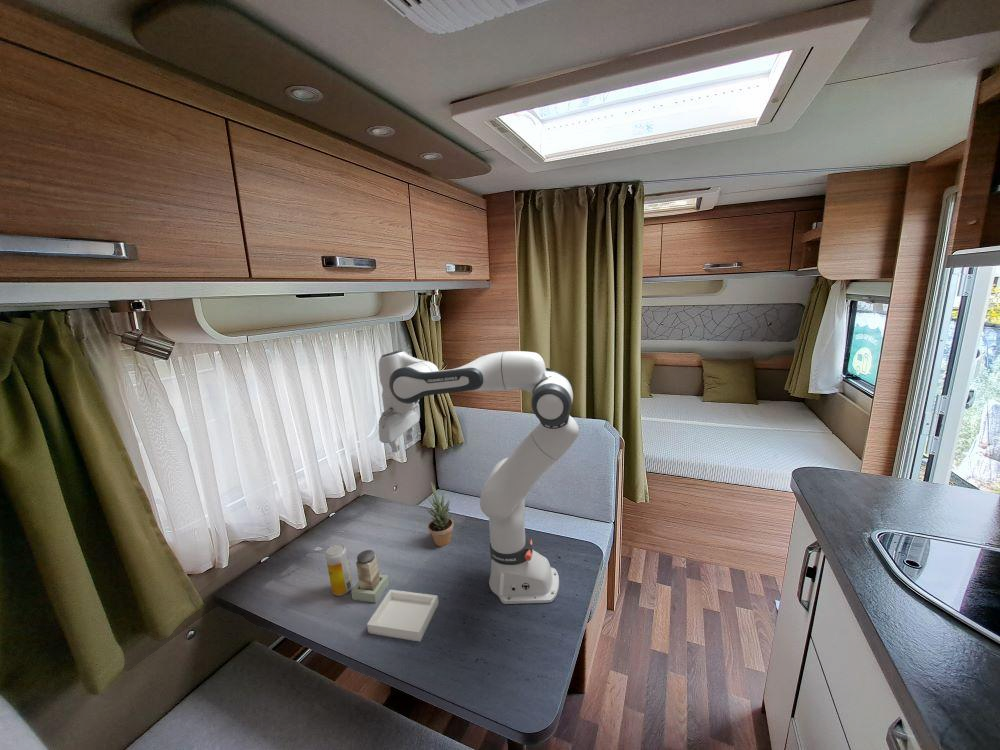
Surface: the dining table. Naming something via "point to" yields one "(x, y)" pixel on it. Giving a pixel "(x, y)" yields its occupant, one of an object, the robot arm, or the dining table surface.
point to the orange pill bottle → (338, 569)
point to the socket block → (371, 595)
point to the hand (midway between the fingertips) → (403, 445)
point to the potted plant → (440, 520)
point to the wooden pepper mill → (367, 570)
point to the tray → (403, 615)
